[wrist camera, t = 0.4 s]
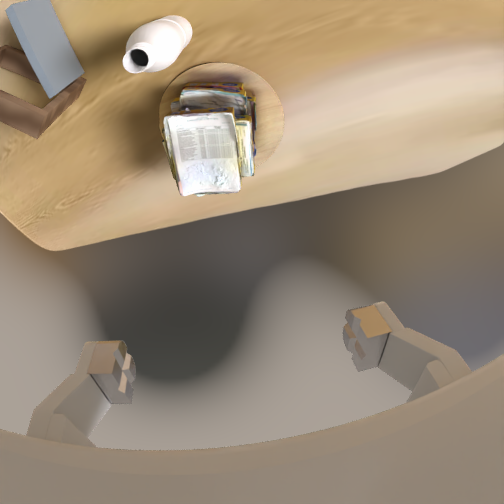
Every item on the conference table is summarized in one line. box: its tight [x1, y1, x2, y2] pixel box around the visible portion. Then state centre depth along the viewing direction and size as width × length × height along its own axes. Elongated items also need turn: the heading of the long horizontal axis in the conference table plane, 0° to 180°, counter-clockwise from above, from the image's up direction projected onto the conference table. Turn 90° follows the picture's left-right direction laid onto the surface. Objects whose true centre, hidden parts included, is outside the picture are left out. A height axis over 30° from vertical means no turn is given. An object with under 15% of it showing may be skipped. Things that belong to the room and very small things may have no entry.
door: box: [5, 0, 85, 99], centre depth 30 cm, size 2×20×12 cm, turn 15°
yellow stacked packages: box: [159, 63, 284, 197], centre depth 50 cm, size 25×25×17 cm
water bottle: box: [123, 15, 192, 73], centre depth 32 cm, size 7×7×25 cm
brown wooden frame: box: [0, 45, 86, 139], centre depth 33 cm, size 4×24×18 cm, turn 50°
